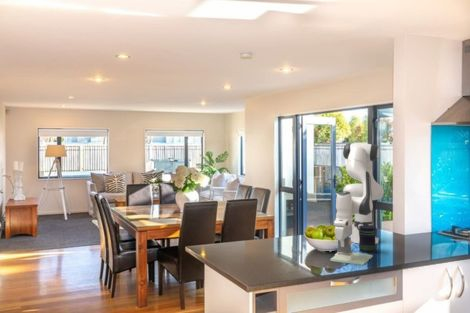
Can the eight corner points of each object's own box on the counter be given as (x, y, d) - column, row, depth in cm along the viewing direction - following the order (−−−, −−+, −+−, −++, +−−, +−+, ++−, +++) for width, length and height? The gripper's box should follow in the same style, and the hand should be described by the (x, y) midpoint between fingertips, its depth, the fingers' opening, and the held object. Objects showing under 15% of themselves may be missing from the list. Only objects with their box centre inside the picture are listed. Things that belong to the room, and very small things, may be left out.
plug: (340, 250, 247) (340, 236, 247) (351, 252, 244) (351, 237, 244) (338, 252, 244) (337, 237, 244) (349, 253, 240) (349, 238, 240)
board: (341, 253, 259) (341, 246, 259) (372, 257, 250) (372, 249, 250) (330, 260, 242) (330, 253, 242) (363, 264, 233) (363, 256, 233)
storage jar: (376, 253, 258) (376, 228, 258) (359, 253, 260) (359, 227, 260) (375, 250, 268) (374, 225, 268) (358, 249, 270) (358, 225, 270)
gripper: (344, 218, 254) (344, 241, 254) (332, 223, 237) (333, 248, 237) (354, 218, 251) (355, 242, 251) (344, 223, 233) (344, 249, 234)
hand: (344, 245), depth 244 cm, fingers closed on plug, 4 cm apart
